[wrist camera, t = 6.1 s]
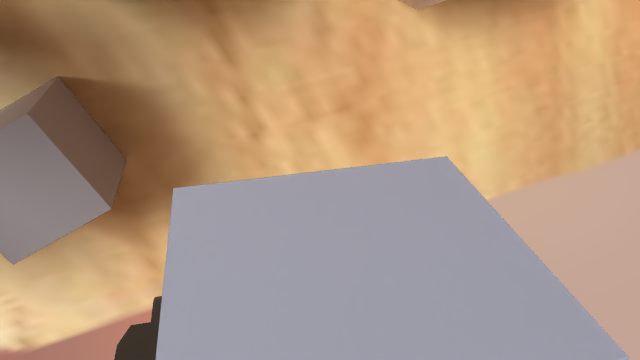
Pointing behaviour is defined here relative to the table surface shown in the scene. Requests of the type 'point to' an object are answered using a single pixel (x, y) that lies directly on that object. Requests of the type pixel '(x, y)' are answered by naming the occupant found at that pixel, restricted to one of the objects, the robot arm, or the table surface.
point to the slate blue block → (361, 273)
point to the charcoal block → (52, 170)
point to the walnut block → (421, 3)
